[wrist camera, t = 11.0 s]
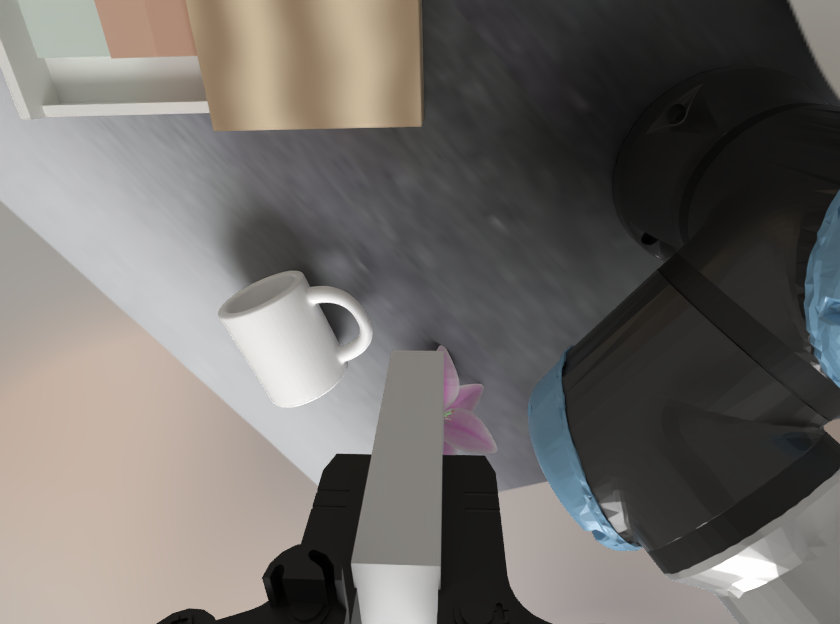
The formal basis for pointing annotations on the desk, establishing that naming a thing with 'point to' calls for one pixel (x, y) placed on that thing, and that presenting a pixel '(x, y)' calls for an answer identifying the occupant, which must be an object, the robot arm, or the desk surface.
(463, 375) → the desk surface
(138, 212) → the desk surface
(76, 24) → the tile grey
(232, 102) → the oak board
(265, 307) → the mug
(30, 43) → the tray
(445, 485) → the robot arm
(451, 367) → the lily
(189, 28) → the tile terracotta
